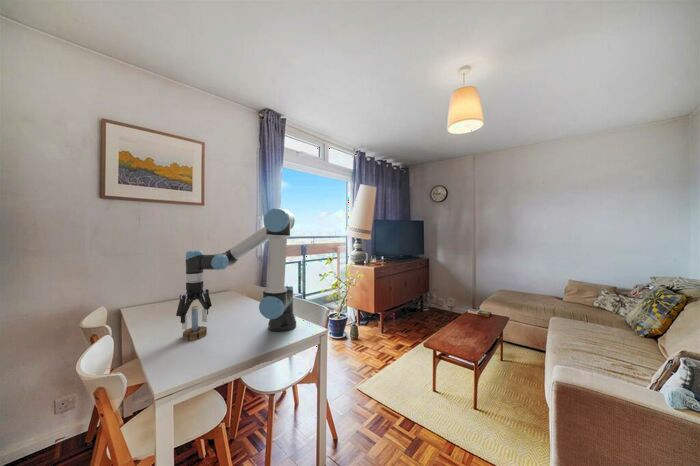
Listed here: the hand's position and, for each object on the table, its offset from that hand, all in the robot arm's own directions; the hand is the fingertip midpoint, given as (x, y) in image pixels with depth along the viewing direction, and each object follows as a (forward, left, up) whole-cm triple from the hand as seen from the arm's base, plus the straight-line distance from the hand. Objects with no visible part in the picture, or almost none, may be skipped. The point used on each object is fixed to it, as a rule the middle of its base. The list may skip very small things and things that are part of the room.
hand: (195, 325), depth 125 cm
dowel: (0, 0, -5) cm, 5 cm away
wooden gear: (0, 0, -5) cm, 5 cm away
